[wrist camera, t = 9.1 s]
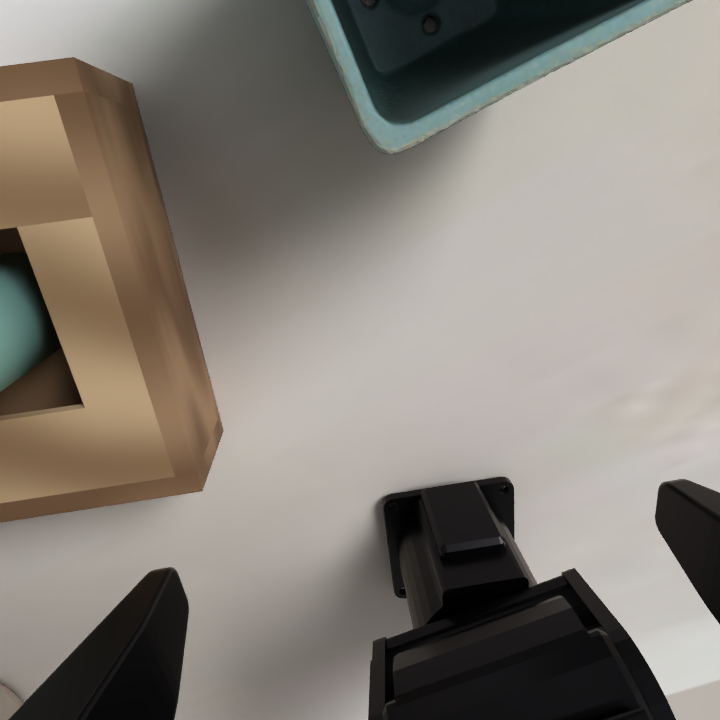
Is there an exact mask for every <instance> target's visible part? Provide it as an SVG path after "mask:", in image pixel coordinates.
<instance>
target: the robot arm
mask: <svg viewBox="0 0 720 720" xmlns="http://www.w3.org/2000/svg"><path fill="white" fill-rule="evenodd" d="M502 486H506V487H505V488H504V489H499V488H500V487H502ZM392 503H396V506H389V505H390V504H392ZM383 511H384V519H385V526H386V534H387V541H388V549H389V557H390V564H391V572H392V579H393V587H394V592H395V595H396V596H397V597H399V598H407V601H408V605H409V610H410V615H411V620H412V624H413V630H410V631H408V632H405V633H402V634H399V635H397V636H394V637H391V638H388V639H387V638H386V637H383V638H381V639H378V640H375V641H373V654H372V660H371V664H370V690H369V716H368V720H676V719H675V717H674V715H673V712H672V710H671V708H670V706H669V704H668V701H667V699H666V697H665V695H664V693H663V692H662V690H661V688H660V686H659V684H658V682H657V680H656V678H655V676H654V675H653V673H652V671H651V669H650V667H649V666H648V664H647V662H646V661H645V659H644V657H643V656H642V654H641V653H640V651H639V649H638V648H637V646H636V645H635V643H634V642H633V640H632V639H631V637H630V636H629V635H628V633H627V632H626V631H625V629H624V628H623V627H622V626H621V624H620V623H619V622H618V621H617V619H616V618H615V617H614V616H613V615H612V613H611V612H610V611H609V610H608V608H607V607H606V606H605V605H604V604H603V602H602V601H601V600H600V599H599V597H598V596H597V595H596V594H595V593H594V591H593V590H592V589H591V588H590V587H589V585H588V584H587V583H586V582H585V580H584V579H583V578H582V577H581V576H580V574H579V573H578V572H577V571H576V569H575V568H573V569H570V570H567V571H565V572H562V575H561V576H559V577H556V578H553V579H550V580H548V581H545V582H542V583H539V584H537V582H536V580H535V578H534V576H533V575H532V573H531V571H530V569H529V567H528V565H527V563H526V561H525V559H524V558H523V556H522V554H521V552H520V550H519V548H518V546H517V544H516V543H515V541H514V487H513V484H512V483H511V481H510V480H509V479H508V478H506V477H497V478H490V479H484V480H478V481H470V482H464V483H457V484H451V485H445V486H438V487H432V488H426V489H420V490H414V491H408V492H401V493H395V494H390V495H387V496H386V497H385V498H384V500H383ZM655 520H656V525H657V527H658V530H659V531H660V533H661V535H662V536H663V538H664V540H665V541H666V543H667V544H668V546H669V548H670V549H671V551H672V552H673V554H674V556H675V557H676V559H677V560H678V562H679V564H680V565H681V567H682V568H683V570H684V571H685V573H686V575H687V576H688V578H689V579H690V581H691V583H692V584H693V586H694V587H695V589H696V591H697V592H698V594H699V595H700V597H701V598H702V600H703V601H704V603H705V604H706V606H707V607H708V609H709V610H710V611H711V613H712V614H713V616H714V617H715V618H716V620H717V621H718V622H719V624H720V493H719V492H716V491H714V490H711V489H709V488H706V487H704V486H701V485H699V484H696V483H694V482H691V481H689V480H685V479H678V480H673V481H667V482H663V483H662V484H661V485H660V486H659V490H658V498H657V506H656V514H655ZM401 588H404V589H401ZM188 614H189V605H188V600H187V597H186V594H185V591H184V588H183V586H182V583H181V580H180V578H179V575H178V573H177V571H176V570H175V569H174V568H172V567H169V568H163V569H157V570H153V571H151V572H149V573H148V574H147V575H146V576H145V577H144V578H143V579H142V580H141V581H140V582H139V583H138V584H137V585H136V586H135V587H134V588H133V589H132V591H131V592H130V593H129V594H128V595H127V596H126V597H125V598H124V599H123V600H122V601H121V602H120V603H119V604H118V605H117V606H116V607H115V608H114V609H113V610H112V611H111V613H110V614H109V615H108V616H107V617H106V618H105V619H104V620H103V621H102V622H101V623H100V624H99V625H98V626H97V627H96V628H95V629H94V630H93V631H92V632H91V633H90V634H89V636H88V637H87V638H86V639H85V640H84V641H83V642H82V643H81V644H80V645H79V646H78V647H77V648H76V649H75V650H74V651H73V652H72V653H71V654H70V655H69V656H68V658H67V659H66V660H65V661H64V662H63V663H62V664H61V665H60V666H59V667H58V668H57V669H56V670H55V671H54V672H53V673H52V674H51V675H50V676H49V677H48V678H47V679H46V681H45V682H44V683H43V684H42V685H41V686H40V687H39V688H38V689H37V690H36V691H35V692H34V693H33V694H32V695H31V696H30V697H29V698H28V699H27V700H26V701H25V703H24V704H23V705H22V706H21V707H20V708H19V709H18V710H17V711H16V712H15V713H14V714H13V715H12V716H11V717H10V718H9V719H8V720H174V718H175V713H176V708H177V703H178V696H179V689H180V681H181V673H182V664H183V656H184V648H185V639H186V631H187V623H188Z"/></svg>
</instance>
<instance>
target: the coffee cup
mask: <svg viewBox="0 0 720 720" xmlns="http://www.w3.org/2000/svg"><path fill="white" fill-rule="evenodd" d="M22 705H23V703H22V701H21V700H20V699H19V697H18V696H17V695H16V694H15V693H14V692H13V691H11V690H10V689H9V688H7V687H6V686H4V685H2V684H0V720H8V719H9V718H10V717H11V716H12V715H13V714H14V713H15V712H16V711H17V710H18V709H19V708H20V707H21V706H22Z"/></svg>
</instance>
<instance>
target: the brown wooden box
mask: <svg viewBox="0 0 720 720" xmlns="http://www.w3.org/2000/svg"><path fill="white" fill-rule="evenodd" d="M13 252H20V253H27V255H28V258H29V261H30V263H31V266H32V269H33V271H34V274H35V277H36V279H37V282H38V285H39V287H40V290H41V293H42V295H43V298H44V300H45V303H46V306H47V308H48V311H49V314H50V316H51V319H52V322H53V324H54V327H55V330H56V332H57V335H58V338H59V340H60V343H61V346H62V348H60V349H59V350H58V351H56V352H55V353H53V354H52V355H51V356H49V357H48V358H47V359H45V360H44V361H42V362H41V363H40V364H38V365H37V366H35V367H34V368H33V369H31V370H30V371H28V372H27V373H26V374H24V375H23V376H22V377H20V378H19V379H17V380H16V381H15V382H13V383H12V384H10V385H9V386H8V387H6V388H5V389H4V390H2V391H1V392H0V522H6V521H13V520H19V519H26V518H32V517H39V516H45V515H52V514H58V513H64V512H71V511H77V510H84V509H90V508H97V507H103V506H110V505H116V504H123V503H129V502H136V501H142V500H148V499H155V498H161V497H168V496H174V495H181V494H187V493H194V492H200V491H203V488H204V485H205V482H206V479H207V476H208V473H209V470H210V468H211V465H212V462H213V459H214V456H215V453H216V450H217V448H218V445H219V442H220V439H221V436H222V433H223V427H222V424H221V420H220V416H219V412H218V408H217V405H216V401H215V397H214V393H213V389H212V386H211V382H210V378H209V374H208V370H207V367H206V363H205V359H204V355H203V351H202V348H201V344H200V340H199V336H198V332H197V328H196V325H195V321H194V317H193V313H192V309H191V306H190V302H189V298H188V294H187V290H186V287H185V283H184V279H183V275H182V271H181V268H180V264H179V260H178V256H177V252H176V249H175V245H174V241H173V237H172V233H171V230H170V226H169V222H168V218H167V214H166V211H165V207H164V203H163V199H162V195H161V192H160V188H159V184H158V180H157V176H156V173H155V169H154V165H153V161H152V157H151V153H150V150H149V146H148V142H147V138H146V134H145V131H144V127H143V123H142V119H141V115H140V112H139V108H138V104H137V100H136V96H135V93H134V89H133V85H132V83H130V82H127V81H125V80H123V79H121V78H118V77H116V76H114V75H112V74H109V73H107V72H105V71H103V70H101V69H98V68H96V67H94V66H92V65H89V64H87V63H85V62H83V61H80V60H78V59H76V58H74V57H72V58H64V59H56V60H49V61H41V62H33V63H25V64H17V65H9V66H1V67H0V255H1V254H6V253H13Z"/></svg>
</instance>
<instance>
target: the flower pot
mask: <svg viewBox="0 0 720 720" xmlns="http://www.w3.org/2000/svg"><path fill="white" fill-rule="evenodd" d="M690 1H692V0H376V2H375V4H374V5H373V6H372V7H367V6H366V5H365V4H364V3H363V2H362V0H306V2H307V5H308V7H309V9H310V12H311V14H312V16H313V18H314V20H315V23H316V25H317V27H318V30H319V32H320V34H321V36H322V39H323V41H324V43H325V45H326V48H327V50H328V52H329V54H330V57H331V59H332V61H333V64H334V66H335V68H336V71H337V73H338V75H339V77H340V79H341V82H342V84H343V86H344V89H345V91H346V93H347V96H348V98H349V100H350V103H351V105H352V108H353V110H354V112H355V115H356V117H357V119H358V122H359V124H360V126H361V128H362V130H363V132H364V134H365V136H366V138H367V139H368V141H369V142H370V143H371V144H372V146H373V147H374V148H375V149H376V150H377V151H378V152H381V153H385V154H396V153H398V152H401V151H404V150H407V149H409V148H411V147H413V146H415V145H417V144H419V143H421V142H423V141H424V140H426V139H428V138H429V137H431V136H433V135H435V134H437V133H439V132H441V131H443V130H445V129H446V128H448V127H450V126H452V125H454V124H456V123H457V122H459V121H461V120H463V119H465V118H467V117H469V116H471V115H473V114H475V113H477V112H478V111H479V110H481V109H483V108H485V107H487V106H489V105H491V104H493V103H495V102H497V101H499V100H501V99H503V98H504V97H506V96H508V95H510V94H512V93H514V92H515V91H517V90H519V89H521V88H523V87H525V86H527V85H529V84H531V83H533V82H535V81H537V80H538V79H540V78H542V77H544V76H546V75H547V74H549V73H550V72H553V71H556V70H558V69H559V68H561V67H563V66H565V65H567V64H570V63H572V62H573V61H575V60H577V59H579V58H581V57H583V56H585V55H587V54H589V53H591V52H593V51H594V50H596V49H598V48H600V47H602V46H604V45H606V44H607V43H609V42H611V41H613V40H615V39H617V38H619V37H621V36H623V35H625V34H627V33H629V32H631V31H633V30H635V29H637V28H639V27H641V26H643V25H645V24H647V23H649V22H651V21H653V20H655V19H657V18H658V17H660V16H662V15H664V14H667V13H669V12H670V11H672V10H674V9H676V8H678V7H680V6H682V5H684V4H686V3H688V2H690ZM429 16H432V17H434V18H435V19H436V20H437V28H436V30H435V31H434V32H433V33H427V32H426V31H425V30H424V28H423V22H424V20H425V19H426V18H427V17H429Z"/></svg>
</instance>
